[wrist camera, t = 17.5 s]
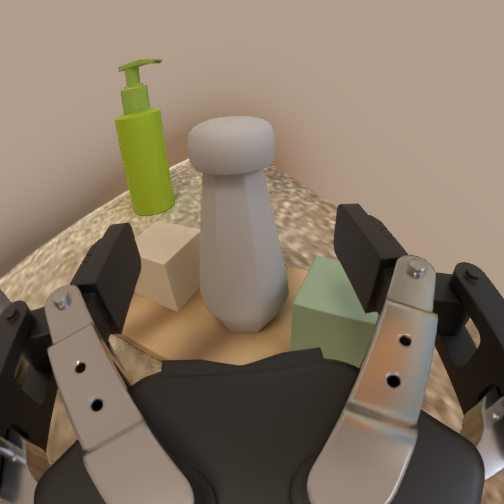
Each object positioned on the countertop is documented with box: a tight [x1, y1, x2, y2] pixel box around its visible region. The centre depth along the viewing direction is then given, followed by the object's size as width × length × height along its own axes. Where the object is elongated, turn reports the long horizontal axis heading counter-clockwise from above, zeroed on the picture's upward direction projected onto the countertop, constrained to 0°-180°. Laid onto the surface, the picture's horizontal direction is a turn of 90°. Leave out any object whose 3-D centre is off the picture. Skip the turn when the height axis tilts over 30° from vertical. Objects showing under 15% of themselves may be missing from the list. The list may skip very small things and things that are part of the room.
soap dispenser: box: [115, 59, 175, 216], centre depth 32 cm, size 6×7×20 cm
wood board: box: [115, 265, 308, 365], centre depth 21 cm, size 18×12×1 cm, turn 65°
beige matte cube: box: [135, 221, 200, 312], centre depth 21 cm, size 4×4×4 cm
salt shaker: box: [187, 116, 289, 332], centre depth 16 cm, size 6×6×13 cm
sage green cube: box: [289, 256, 378, 367], centre depth 17 cm, size 4×4×4 cm
